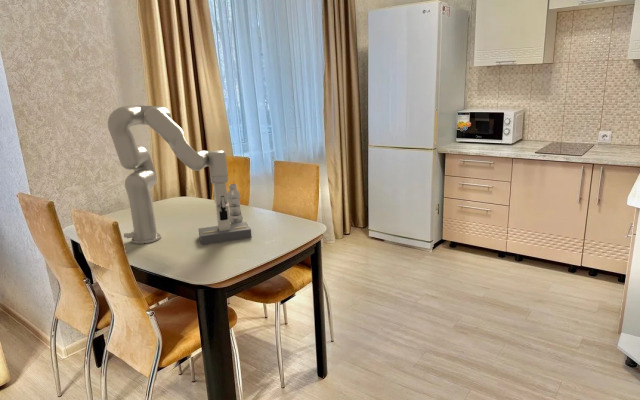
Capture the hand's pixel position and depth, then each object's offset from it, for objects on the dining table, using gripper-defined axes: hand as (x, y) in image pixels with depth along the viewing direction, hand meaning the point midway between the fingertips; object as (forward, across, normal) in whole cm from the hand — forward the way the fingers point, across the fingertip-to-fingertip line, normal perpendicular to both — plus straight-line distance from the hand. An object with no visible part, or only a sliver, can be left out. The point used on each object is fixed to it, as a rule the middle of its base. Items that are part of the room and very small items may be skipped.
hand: (223, 218), depth 200 cm
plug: (+6, 0, 0) cm, 6 cm away
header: (+9, 0, 0) cm, 9 cm away
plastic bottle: (+9, -18, +8) cm, 22 cm away
